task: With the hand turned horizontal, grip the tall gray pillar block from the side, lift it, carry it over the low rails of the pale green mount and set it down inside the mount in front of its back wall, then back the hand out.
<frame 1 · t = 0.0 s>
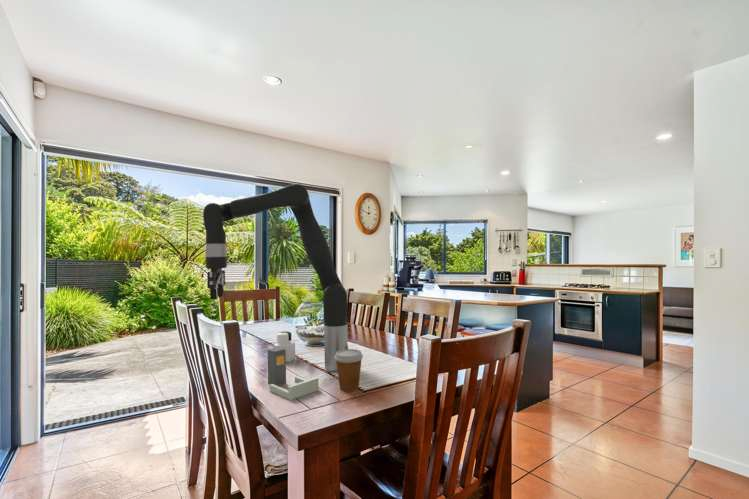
hand: (217, 298, 142), 29 cm above the table, tool pointing down, fingers open, 8 cm apart
mount: (292, 389, 125), on the table
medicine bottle: (284, 360, 160), on the table
disposable coffee cup: (349, 388, 125), on the table
tall gray pillar block: (277, 383, 131), on the table
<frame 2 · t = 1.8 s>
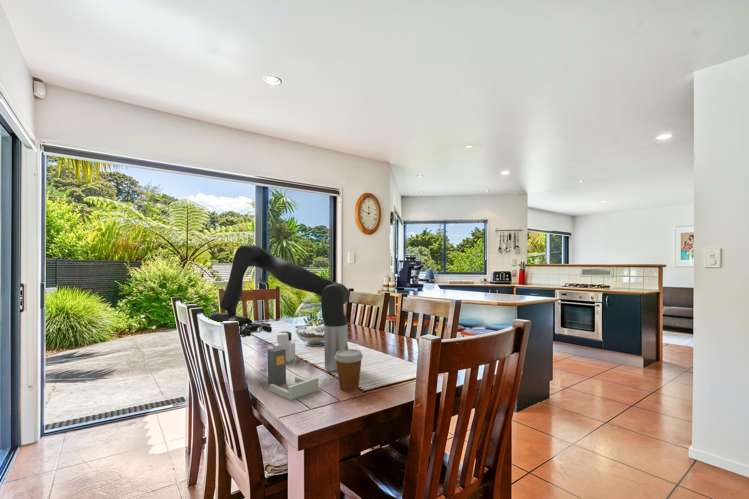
hand: (260, 331, 139), 17 cm above the table, tool horizontal, fingers open, 8 cm apart
nothing on the table moved.
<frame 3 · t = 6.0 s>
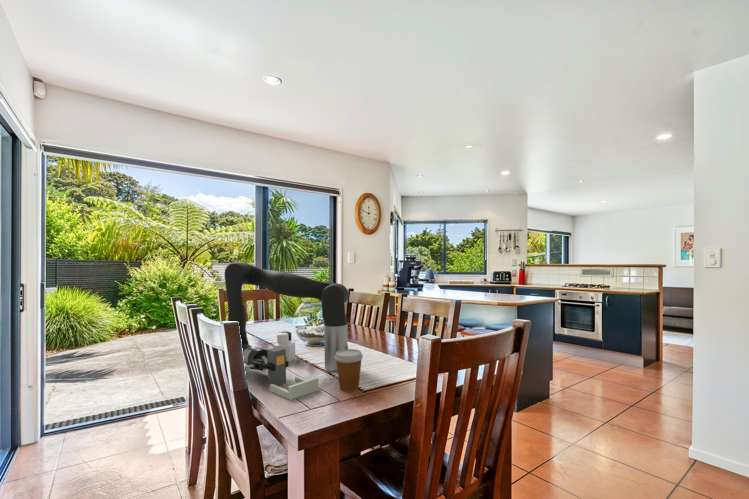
hand: (281, 366, 129), 7 cm above the table, tool horizontal, fingers closed on tall gray pillar block, 4 cm apart
tall gray pillar block: (277, 383, 131), on the table, touching gripper
everything else where it was.
when the fingers open (8 cm above the table, at t = 10.1 s): tall gray pillar block drops 1 cm, on the table.
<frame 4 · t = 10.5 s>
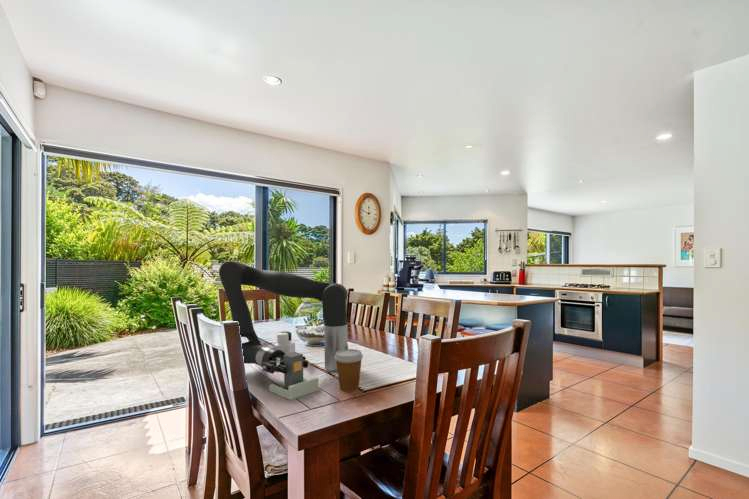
hand: (297, 367, 123), 8 cm above the table, tool horizontal, fingers open, 7 cm apart
tall gray pillar block: (293, 390, 124), on the table
everything else where it was.
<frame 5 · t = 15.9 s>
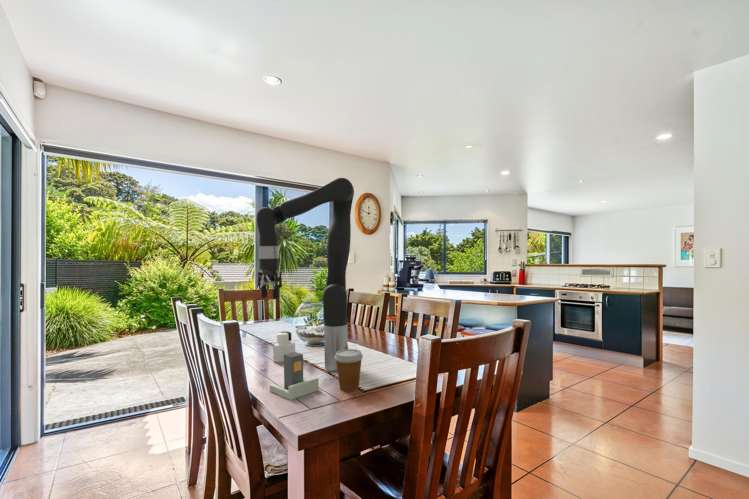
hand: (269, 298, 148), 28 cm above the table, tool pointing down, fingers open, 8 cm apart
nothing on the table moved.
at the end: tall gray pillar block inside the target area (0.0 cm from its centre), on the table; tall gray pillar block tilted 0°; the gripper is holding nothing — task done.
